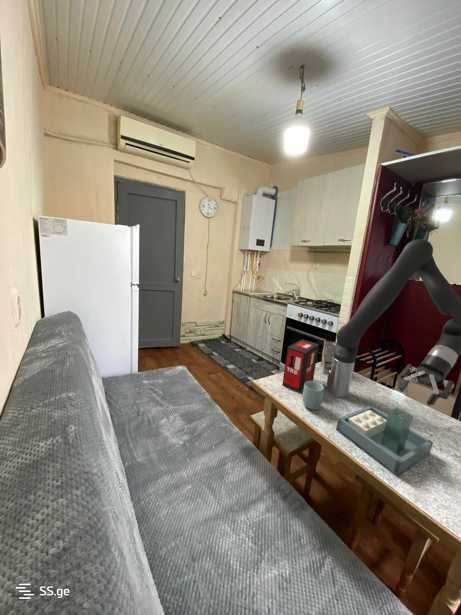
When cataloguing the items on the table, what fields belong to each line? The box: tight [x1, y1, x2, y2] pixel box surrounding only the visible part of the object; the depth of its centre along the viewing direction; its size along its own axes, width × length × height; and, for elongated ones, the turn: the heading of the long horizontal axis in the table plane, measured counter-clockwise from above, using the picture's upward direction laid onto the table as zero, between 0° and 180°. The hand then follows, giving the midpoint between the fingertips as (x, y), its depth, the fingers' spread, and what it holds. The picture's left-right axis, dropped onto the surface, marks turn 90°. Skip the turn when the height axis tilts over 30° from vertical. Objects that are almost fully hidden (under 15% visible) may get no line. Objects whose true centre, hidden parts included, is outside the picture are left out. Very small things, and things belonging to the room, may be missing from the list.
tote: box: [335, 405, 434, 477], centre depth 90 cm, size 22×20×5 cm
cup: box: [302, 380, 325, 411], centre depth 107 cm, size 8×8×10 cm
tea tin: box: [381, 407, 414, 454], centre depth 86 cm, size 5×5×13 cm
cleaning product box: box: [281, 339, 320, 394], centre depth 124 cm, size 16×9×20 cm, turn 141°
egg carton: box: [348, 410, 387, 438], centre depth 94 cm, size 7×13×5 cm, turn 119°
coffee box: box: [320, 340, 337, 375], centre depth 141 cm, size 9×6×16 cm
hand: (414, 397), depth 86 cm, fingers open, 8 cm apart
